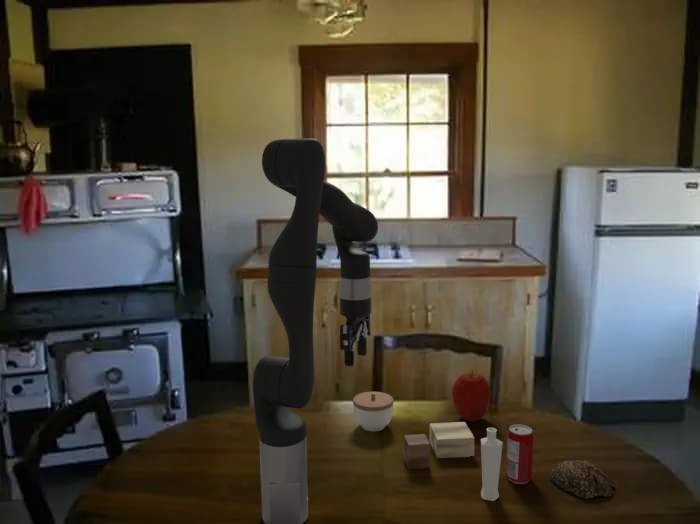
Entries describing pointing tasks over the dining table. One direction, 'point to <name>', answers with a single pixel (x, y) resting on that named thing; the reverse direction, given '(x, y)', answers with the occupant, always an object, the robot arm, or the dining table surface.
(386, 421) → the lidded jar
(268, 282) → the robot arm
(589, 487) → the bread roll
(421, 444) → the walnut block
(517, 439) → the soda can
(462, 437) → the birch block
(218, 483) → the dining table surface
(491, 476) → the perfume bottle
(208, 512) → the dining table surface
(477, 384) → the apple
